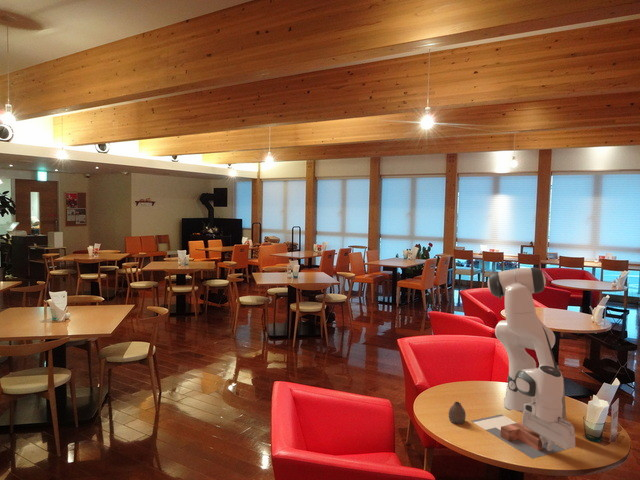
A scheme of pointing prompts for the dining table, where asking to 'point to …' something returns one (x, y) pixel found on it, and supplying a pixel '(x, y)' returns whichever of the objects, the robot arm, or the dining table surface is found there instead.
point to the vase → (457, 413)
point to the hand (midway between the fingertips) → (546, 449)
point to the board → (494, 428)
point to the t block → (521, 435)
